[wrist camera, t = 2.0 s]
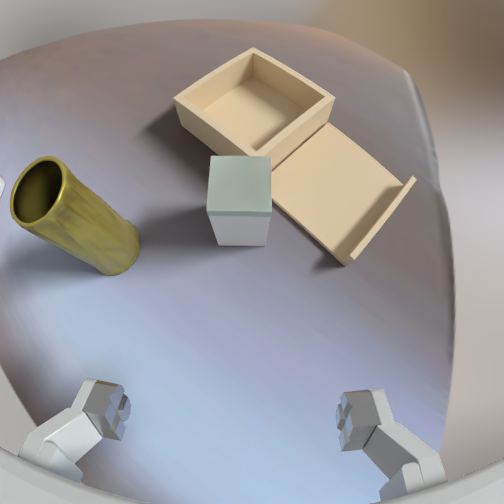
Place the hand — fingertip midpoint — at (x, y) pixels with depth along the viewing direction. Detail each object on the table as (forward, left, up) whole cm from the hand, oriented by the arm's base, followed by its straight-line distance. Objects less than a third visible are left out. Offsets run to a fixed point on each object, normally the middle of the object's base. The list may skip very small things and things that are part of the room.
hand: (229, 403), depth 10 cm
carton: (-9, +9, -18) cm, 22 cm away
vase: (-17, -2, -18) cm, 25 cm away
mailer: (-11, +19, -18) cm, 29 cm away
